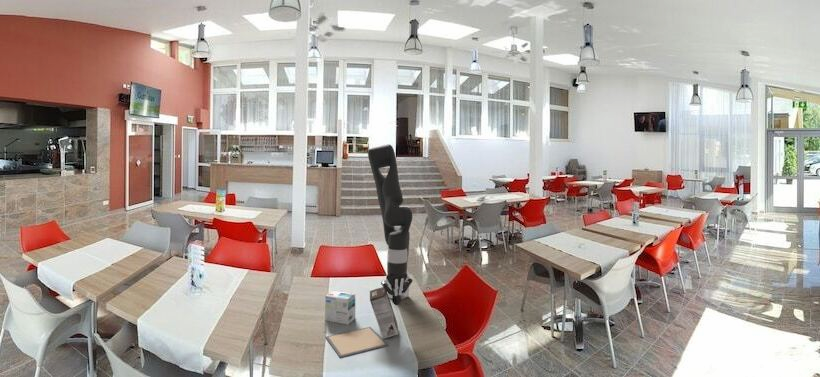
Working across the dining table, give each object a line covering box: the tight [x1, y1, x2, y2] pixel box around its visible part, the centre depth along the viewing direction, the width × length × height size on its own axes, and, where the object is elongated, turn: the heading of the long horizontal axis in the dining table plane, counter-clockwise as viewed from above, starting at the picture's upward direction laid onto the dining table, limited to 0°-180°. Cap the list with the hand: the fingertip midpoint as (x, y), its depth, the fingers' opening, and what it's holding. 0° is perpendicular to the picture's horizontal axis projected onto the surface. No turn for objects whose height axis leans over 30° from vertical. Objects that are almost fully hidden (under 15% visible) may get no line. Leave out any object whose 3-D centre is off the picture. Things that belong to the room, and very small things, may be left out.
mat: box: [325, 326, 389, 359], centre depth 142 cm, size 18×16×1 cm
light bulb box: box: [324, 290, 356, 326], centre depth 160 cm, size 11×7×11 cm, turn 71°
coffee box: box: [369, 286, 400, 340], centre depth 148 cm, size 9×6×16 cm
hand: (396, 304), depth 149 cm, fingers closed
